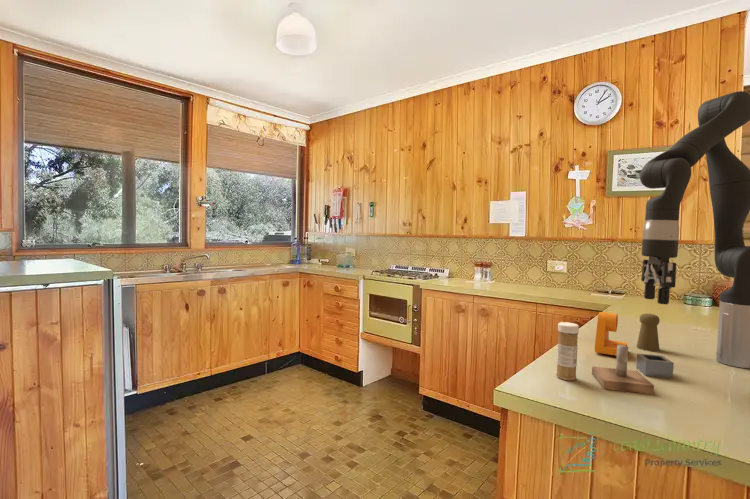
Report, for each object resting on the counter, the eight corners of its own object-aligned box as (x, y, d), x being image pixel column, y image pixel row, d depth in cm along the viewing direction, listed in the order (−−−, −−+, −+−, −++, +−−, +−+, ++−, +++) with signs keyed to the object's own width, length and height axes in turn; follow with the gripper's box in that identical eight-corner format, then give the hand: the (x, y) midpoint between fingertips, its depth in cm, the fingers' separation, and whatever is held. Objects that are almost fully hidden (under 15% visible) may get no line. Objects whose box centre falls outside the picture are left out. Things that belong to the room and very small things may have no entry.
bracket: (623, 359, 114) (625, 318, 114) (594, 354, 119) (596, 314, 118) (627, 351, 123) (629, 312, 122) (600, 346, 127) (602, 309, 127)
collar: (662, 370, 105) (662, 355, 105) (672, 378, 99) (673, 362, 99) (636, 368, 107) (637, 353, 106) (645, 375, 101) (646, 360, 101)
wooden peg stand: (636, 378, 99) (638, 342, 98) (653, 394, 89) (655, 354, 89) (591, 374, 101) (593, 339, 101) (603, 388, 92) (605, 350, 91)
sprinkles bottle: (564, 373, 101) (566, 321, 101) (580, 379, 97) (583, 325, 96) (551, 376, 99) (554, 322, 99) (567, 382, 95) (570, 326, 94)
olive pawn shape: (658, 348, 127) (660, 313, 127) (660, 352, 122) (662, 317, 122) (636, 344, 130) (638, 311, 130) (636, 349, 125) (638, 314, 125)
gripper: (691, 239, 94) (686, 307, 95) (665, 239, 108) (660, 298, 109) (654, 237, 96) (650, 304, 97) (633, 237, 110) (629, 296, 111)
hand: (655, 301), depth 103 cm, fingers open, 8 cm apart
